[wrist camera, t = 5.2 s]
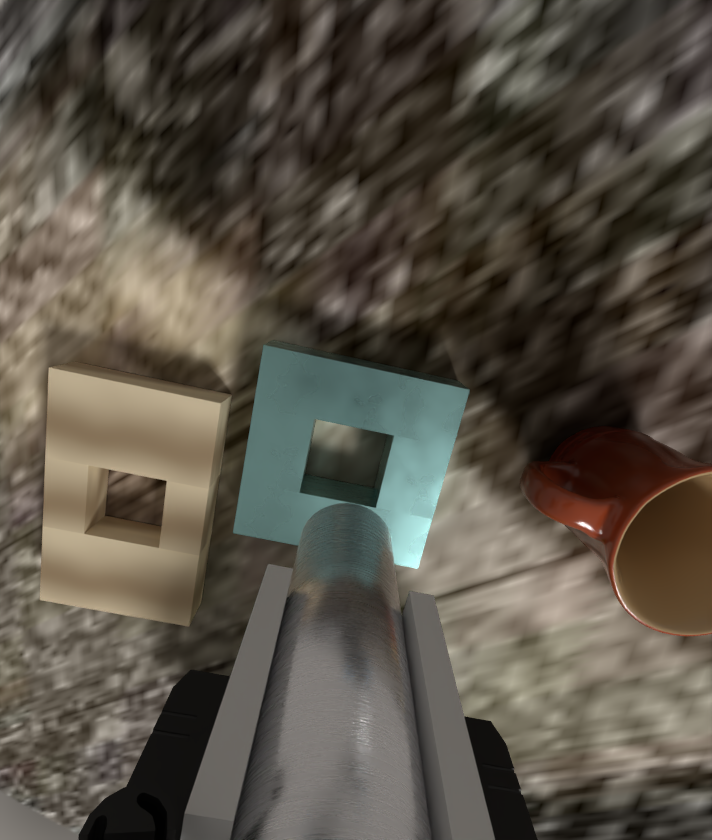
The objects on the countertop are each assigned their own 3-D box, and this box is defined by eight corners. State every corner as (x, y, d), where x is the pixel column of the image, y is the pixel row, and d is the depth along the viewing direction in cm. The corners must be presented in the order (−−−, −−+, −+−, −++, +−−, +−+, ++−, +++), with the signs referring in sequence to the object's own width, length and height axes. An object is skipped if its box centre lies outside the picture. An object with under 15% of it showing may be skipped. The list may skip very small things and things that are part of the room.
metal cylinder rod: (309, 494, 17) (116, 1291, 3) (401, 513, 17) (564, 1336, 4) (292, 574, 18) (89, 1445, 4) (379, 591, 18) (444, 1473, 5)
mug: (680, 431, 29) (846, 499, 19) (621, 544, 32) (743, 656, 22) (512, 378, 28) (597, 420, 18) (463, 498, 31) (516, 593, 21)
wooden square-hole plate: (75, 361, 28) (48, 367, 26) (232, 394, 29) (220, 403, 26) (63, 577, 32) (39, 599, 30) (201, 602, 33) (188, 626, 30)
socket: (273, 340, 28) (263, 344, 25) (458, 380, 28) (469, 389, 25) (244, 511, 31) (232, 533, 28) (411, 543, 31) (417, 568, 29)
